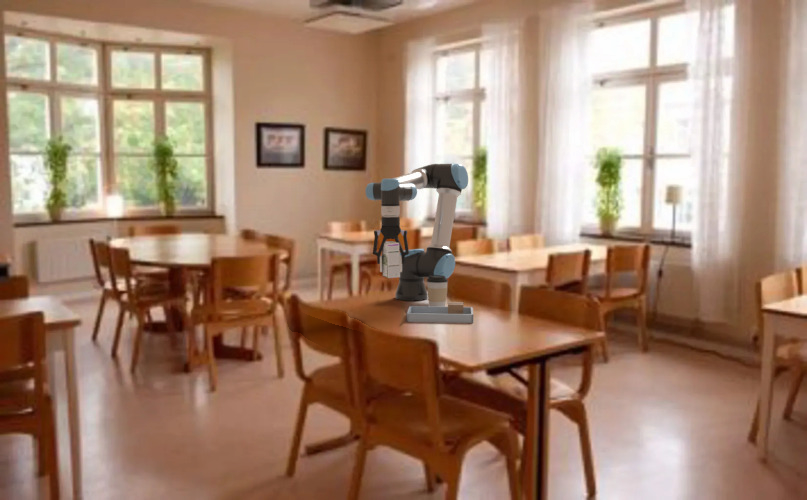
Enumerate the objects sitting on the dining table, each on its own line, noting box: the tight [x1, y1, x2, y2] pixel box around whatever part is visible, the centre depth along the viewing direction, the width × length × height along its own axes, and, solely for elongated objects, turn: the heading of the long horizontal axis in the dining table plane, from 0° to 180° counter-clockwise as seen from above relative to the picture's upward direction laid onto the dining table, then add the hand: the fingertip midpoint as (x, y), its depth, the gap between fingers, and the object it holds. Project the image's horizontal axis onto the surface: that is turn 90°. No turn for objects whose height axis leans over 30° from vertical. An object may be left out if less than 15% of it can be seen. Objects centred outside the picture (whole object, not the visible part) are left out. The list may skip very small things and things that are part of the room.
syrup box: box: [381, 240, 400, 279], centre depth 279 cm, size 6×6×14 cm
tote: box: [406, 305, 474, 324], centre depth 268 cm, size 16×26×4 cm, turn 85°
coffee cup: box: [426, 275, 449, 307], centre depth 289 cm, size 9×9×15 cm
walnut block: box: [447, 301, 464, 314], centre depth 268 cm, size 6×6×6 cm
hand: (391, 271), depth 280 cm, fingers closed on syrup box, 7 cm apart
